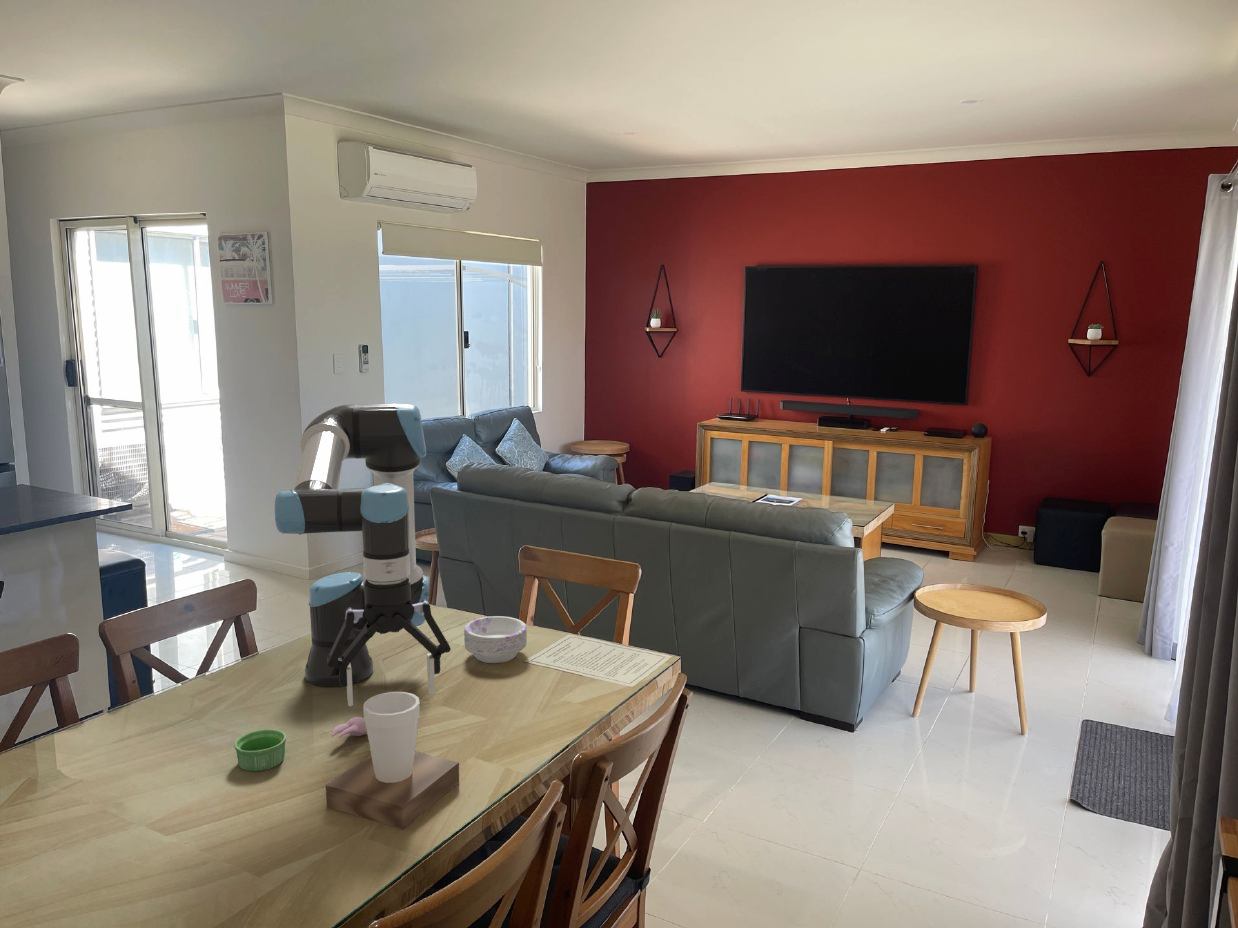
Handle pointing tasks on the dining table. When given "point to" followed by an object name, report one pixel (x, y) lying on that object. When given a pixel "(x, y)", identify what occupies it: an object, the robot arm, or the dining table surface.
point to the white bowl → (495, 638)
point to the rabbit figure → (351, 727)
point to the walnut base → (393, 790)
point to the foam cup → (392, 734)
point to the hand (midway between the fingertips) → (391, 697)
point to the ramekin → (260, 749)
